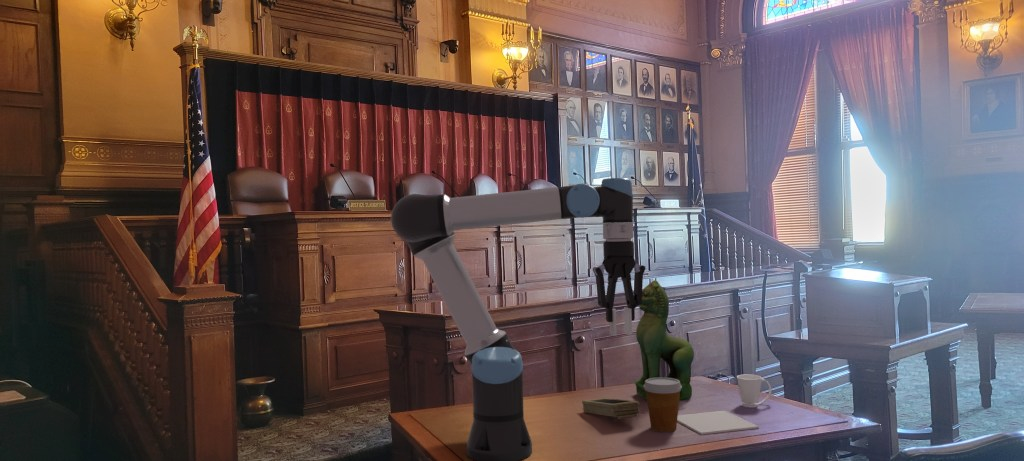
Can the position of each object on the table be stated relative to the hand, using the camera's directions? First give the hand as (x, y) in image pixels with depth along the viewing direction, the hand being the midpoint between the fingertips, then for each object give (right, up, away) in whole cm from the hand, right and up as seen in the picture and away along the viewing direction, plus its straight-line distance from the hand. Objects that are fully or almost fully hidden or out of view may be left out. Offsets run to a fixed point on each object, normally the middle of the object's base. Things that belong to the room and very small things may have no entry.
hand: (620, 334), depth 179 cm
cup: (+41, -23, +23) cm, 53 cm away
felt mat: (+25, -24, +7) cm, 35 cm away
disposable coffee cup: (+11, -24, +3) cm, 27 cm away
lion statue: (+18, -24, +35) cm, 46 cm away
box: (-1, -25, +15) cm, 29 cm away
